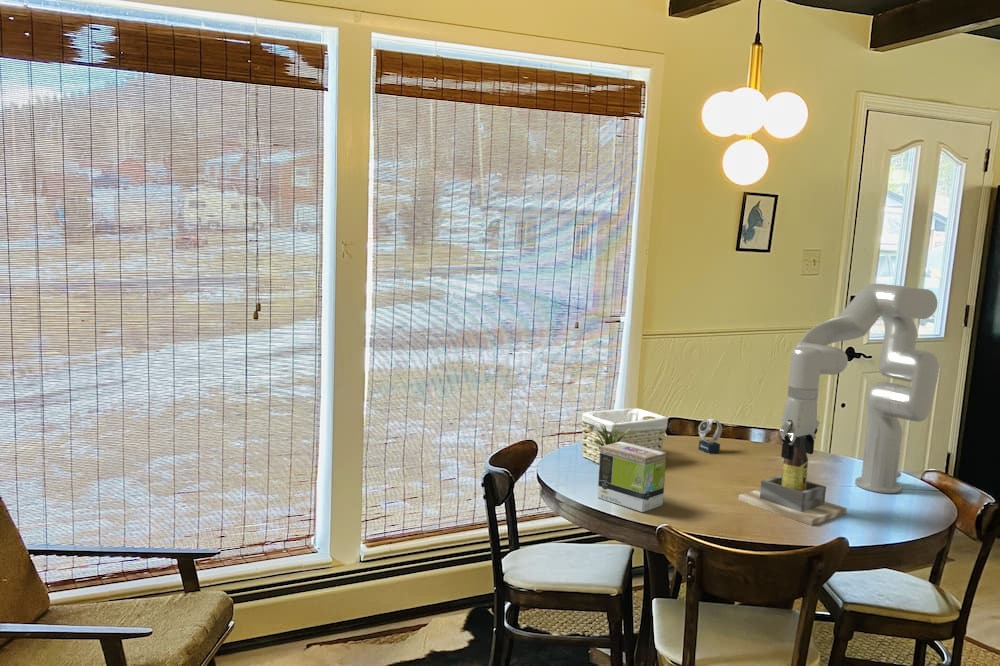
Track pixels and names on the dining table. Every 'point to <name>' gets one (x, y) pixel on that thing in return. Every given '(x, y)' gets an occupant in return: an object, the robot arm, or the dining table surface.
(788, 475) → the sauce bottle
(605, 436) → the house plant
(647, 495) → the tea box
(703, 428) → the watch
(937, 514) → the dining table surface
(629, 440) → the storage basket
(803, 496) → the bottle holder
